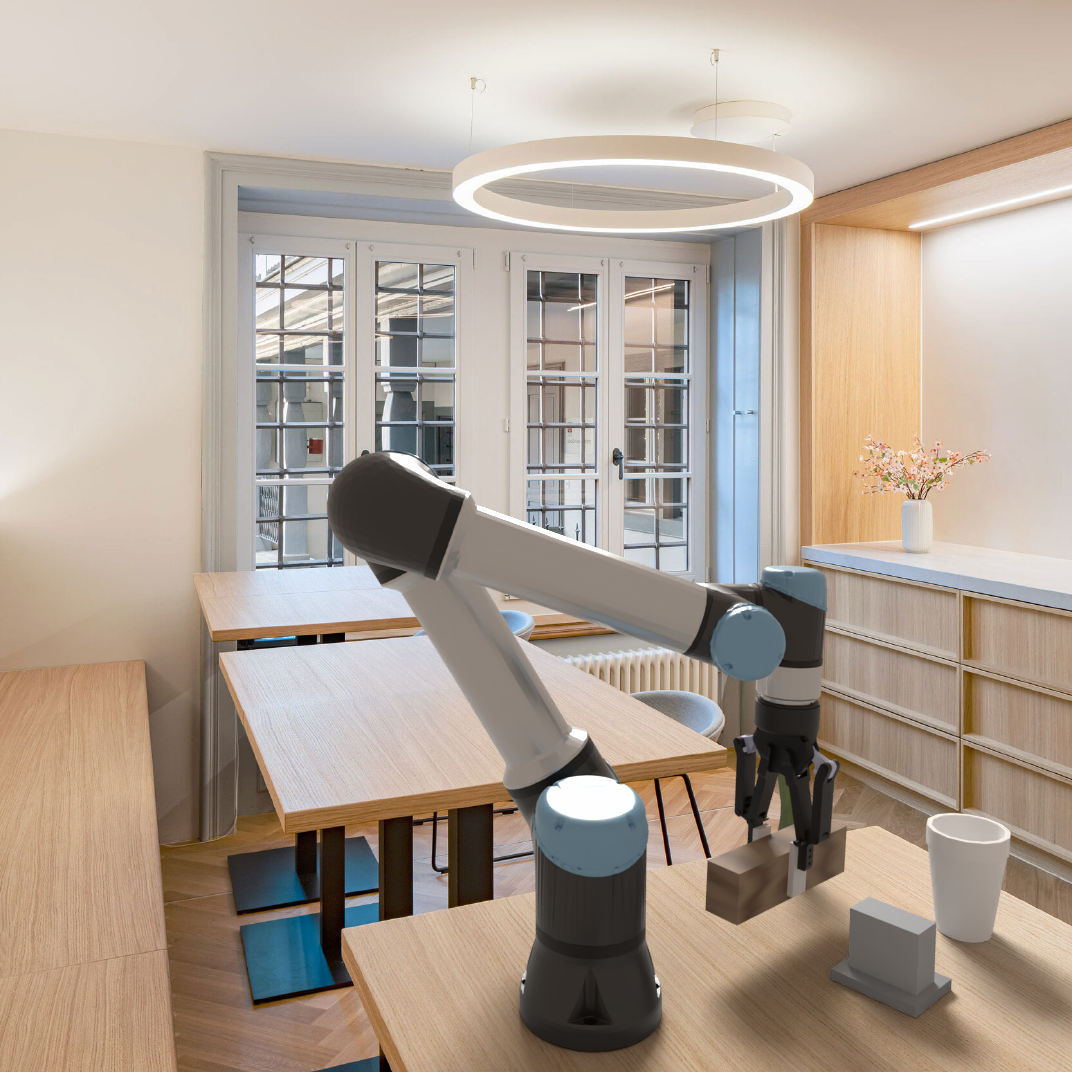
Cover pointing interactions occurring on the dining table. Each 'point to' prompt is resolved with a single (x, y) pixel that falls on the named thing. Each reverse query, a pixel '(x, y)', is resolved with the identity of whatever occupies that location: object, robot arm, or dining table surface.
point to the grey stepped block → (892, 958)
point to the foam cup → (966, 873)
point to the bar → (766, 873)
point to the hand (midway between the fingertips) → (777, 885)
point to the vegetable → (784, 804)
